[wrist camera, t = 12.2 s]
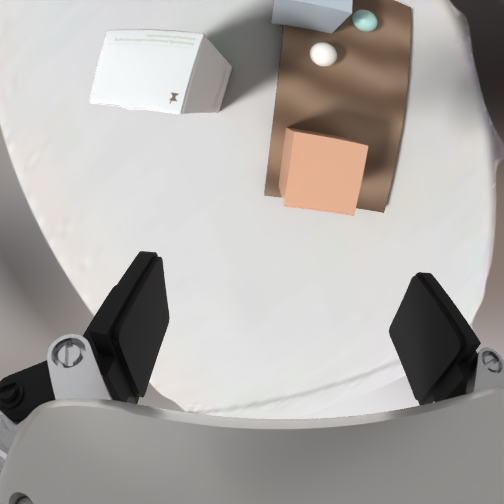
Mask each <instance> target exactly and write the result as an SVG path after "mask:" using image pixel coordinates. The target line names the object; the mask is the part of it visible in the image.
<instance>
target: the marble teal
mask: <svg viewBox="0 0 504 504" xmlns="http://www.w3.org/2000/svg"><path fill="white" fill-rule="evenodd" d="M352 21H353V24H354V25H355V26H356V27H357V28H358V29H359V30H361V31H365V32H369V31H372V30H374V29H375V28H376V27H377V18H376V17H375V15H374V14H373V13H371V12H370V11H368V10H358V11H356V12H355V13H354V14H353V16H352Z"/></svg>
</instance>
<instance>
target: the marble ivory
mask: <svg viewBox="0 0 504 504" xmlns="http://www.w3.org/2000/svg"><path fill="white" fill-rule="evenodd" d="M310 57H311V59H312V61H313V62H314V63H315V64H317V65H319V66H323V67H327V66H330V65H332V64H334V63H335V61H336V59H337V52H336V50H335V48H334V47H333V46H332V45H330V44H328V43H324V42H321V43H317V44H315V45H314V46H312V48H311V50H310Z"/></svg>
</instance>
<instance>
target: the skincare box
mask: <svg viewBox="0 0 504 504" xmlns="http://www.w3.org/2000/svg"><path fill="white" fill-rule="evenodd" d="M231 70H232V66H231V65H230V64H229V63H228V61H227V60H226V59H225V58H224V57H223V56H222V54H221V53H220V52H219V51H218V50H217V49H216V48H215V46H214V45H213V44H212V43H211V42H210V41H209V40H208V38H207V37H206V36H205V35H204V34H202V33H193V32H185V31H173V30H156V29H121V30H108V31H107V35H106V38H105V41H104V44H103V47H102V51H101V54H100V58H99V62H98V65H97V69H96V73H95V77H94V82H93V86H92V91H91V96H90V100H89V103H90V104H102V105H110V106H119V107H123V108H125V109H128V110H138V109H144V110H151V111H158V112H165V113H171V114H190V113H213V112H215V113H218V112H219V111H220V107H221V104H222V101H223V97H224V94H225V91H226V87H227V84H228V80H229V77H230V74H231Z"/></svg>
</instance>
